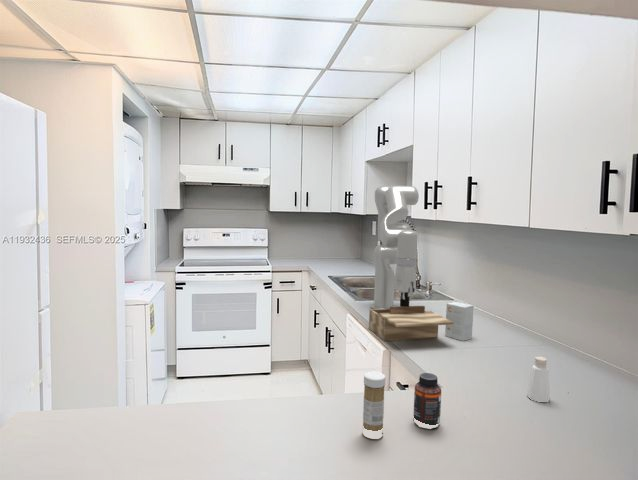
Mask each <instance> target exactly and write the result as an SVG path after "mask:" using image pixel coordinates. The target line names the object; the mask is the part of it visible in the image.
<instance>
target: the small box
mask: <svg viewBox="0 0 638 480" xmlns="http://www.w3.org/2000/svg"><path fill="white" fill-rule="evenodd" d="M445 311H446V312H445V313H446V314H445V318H446V319H448V320H450V321H452V322H453V324H451V325H445V332H444V335H445V337H448V338H452V339H455V340H459V341H461V342H462V341H463V342H465V341H467V340H470V339H472V338H473V326H474V323H473V321H474V320H473V319H474V305H473V304H467V303H465V302H458V301H453V302H447V303H446V310H445Z"/></svg>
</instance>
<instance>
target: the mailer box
mask: <svg viewBox="0 0 638 480" xmlns="http://www.w3.org/2000/svg"><path fill="white" fill-rule="evenodd" d="M379 313H390V309H372V308H370V309H369V317H368V318H369V319H368V329H369V330H370V331H371V332H372V333H374V335H376V336H377V337H379V338H380V339H381V340H382V341H383V342H392V341H393V342H394V341H395V342H396V341H397V342H398V341H412V340H413V341H414V340H415V341H416V340H429V339H431V340H432V339H438V338H439V337H438V336H439V325H430V326H409V327H396V326H395V325H393V324H392V323H390V322H389V321H387V320H386V319H384V318H383V317H381V316H380V315H379Z"/></svg>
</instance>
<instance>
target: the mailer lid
mask: <svg viewBox="0 0 638 480" xmlns="http://www.w3.org/2000/svg"><path fill="white" fill-rule="evenodd" d="M425 308H426V306H425V305H409V306H400V305H399V306H396V307H390V313H379V315H380V316H381V317H383V318H384V319H386V320H387V321H389V322H390V323H392V324H393V325H395V326H396V327H409V326H430V325H438V326H446V325H451V324H453V322H452V321H450V320H448V319H446V317H443V316H441V315H440V314H438V313H436V312H434V311H432V310H426V309H425Z"/></svg>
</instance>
